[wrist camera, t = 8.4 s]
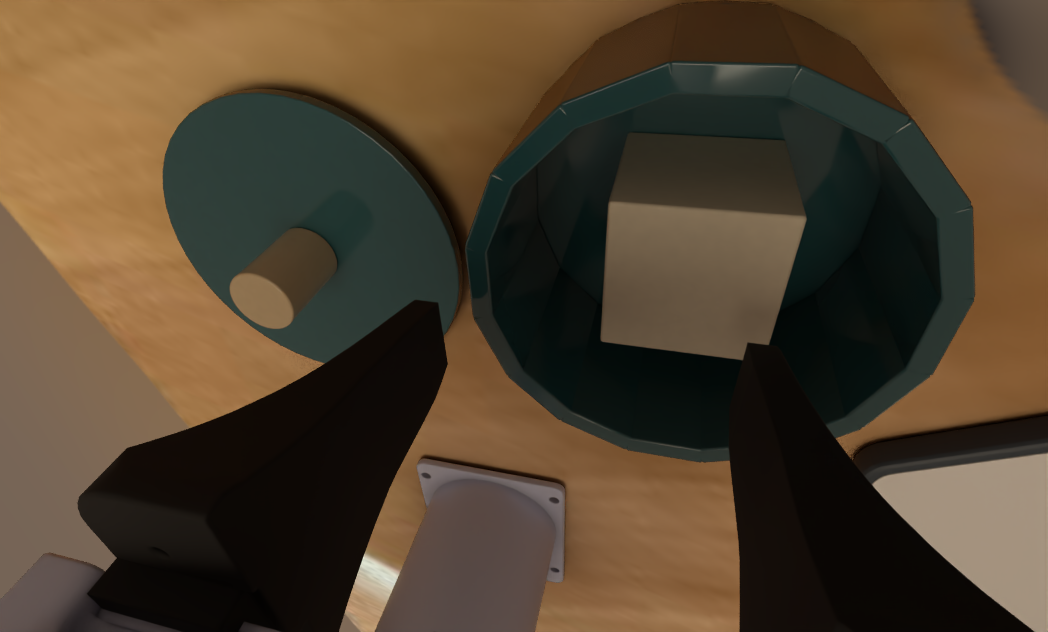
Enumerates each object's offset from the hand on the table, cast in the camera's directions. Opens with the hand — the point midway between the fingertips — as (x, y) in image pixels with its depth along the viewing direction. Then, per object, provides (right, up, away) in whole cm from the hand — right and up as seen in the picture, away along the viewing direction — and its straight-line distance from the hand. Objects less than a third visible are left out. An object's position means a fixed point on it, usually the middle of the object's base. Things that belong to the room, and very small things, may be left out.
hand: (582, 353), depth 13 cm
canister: (+4, +5, +5) cm, 8 cm away
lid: (-10, +4, +9) cm, 14 cm away
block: (+4, +4, +4) cm, 7 cm away
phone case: (+19, -9, +11) cm, 24 cm away
